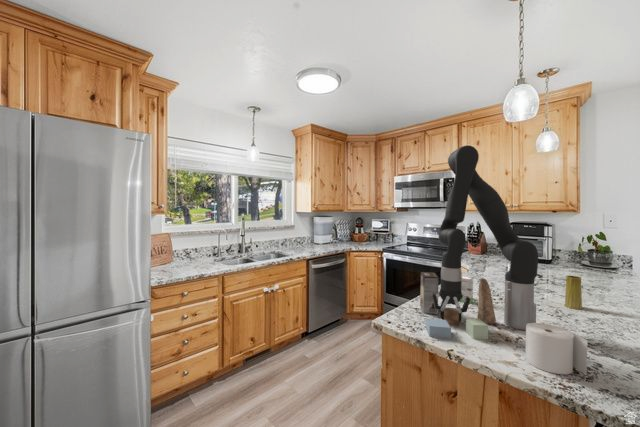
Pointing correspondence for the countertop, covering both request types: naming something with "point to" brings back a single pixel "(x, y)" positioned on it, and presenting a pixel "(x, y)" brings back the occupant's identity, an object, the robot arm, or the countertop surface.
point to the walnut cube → (451, 316)
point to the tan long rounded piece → (485, 303)
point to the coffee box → (428, 292)
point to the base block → (438, 328)
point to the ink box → (467, 288)
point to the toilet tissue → (555, 349)
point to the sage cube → (476, 329)
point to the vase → (573, 292)
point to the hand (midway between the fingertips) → (450, 320)
